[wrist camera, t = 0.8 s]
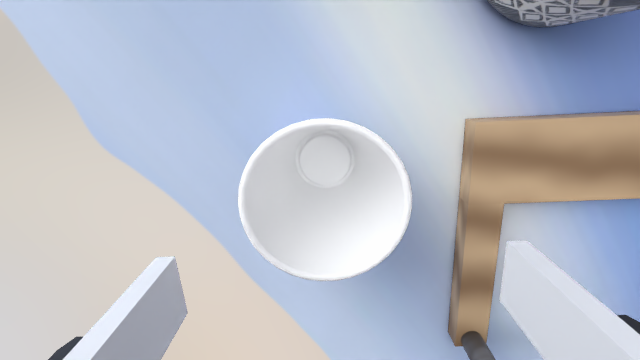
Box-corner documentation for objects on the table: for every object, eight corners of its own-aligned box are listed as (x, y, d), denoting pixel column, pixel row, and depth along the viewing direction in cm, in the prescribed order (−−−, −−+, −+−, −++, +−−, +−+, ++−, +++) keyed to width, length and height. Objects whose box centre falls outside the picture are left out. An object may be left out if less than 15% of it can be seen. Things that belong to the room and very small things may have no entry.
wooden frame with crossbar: (465, 118, 28) (518, 135, 20) (761, 105, 27) (931, 117, 20) (447, 332, 35) (482, 405, 27) (684, 326, 34) (789, 399, 26)
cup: (260, 198, 30) (225, 263, 20) (280, 89, 27) (253, 98, 17) (364, 221, 31) (384, 296, 20) (395, 117, 28) (437, 142, 18)
